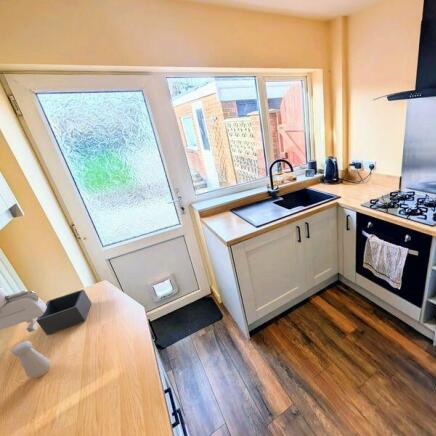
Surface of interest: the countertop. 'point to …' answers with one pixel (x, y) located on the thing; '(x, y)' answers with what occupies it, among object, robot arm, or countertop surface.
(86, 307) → the bin
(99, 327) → the countertop surface
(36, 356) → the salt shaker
